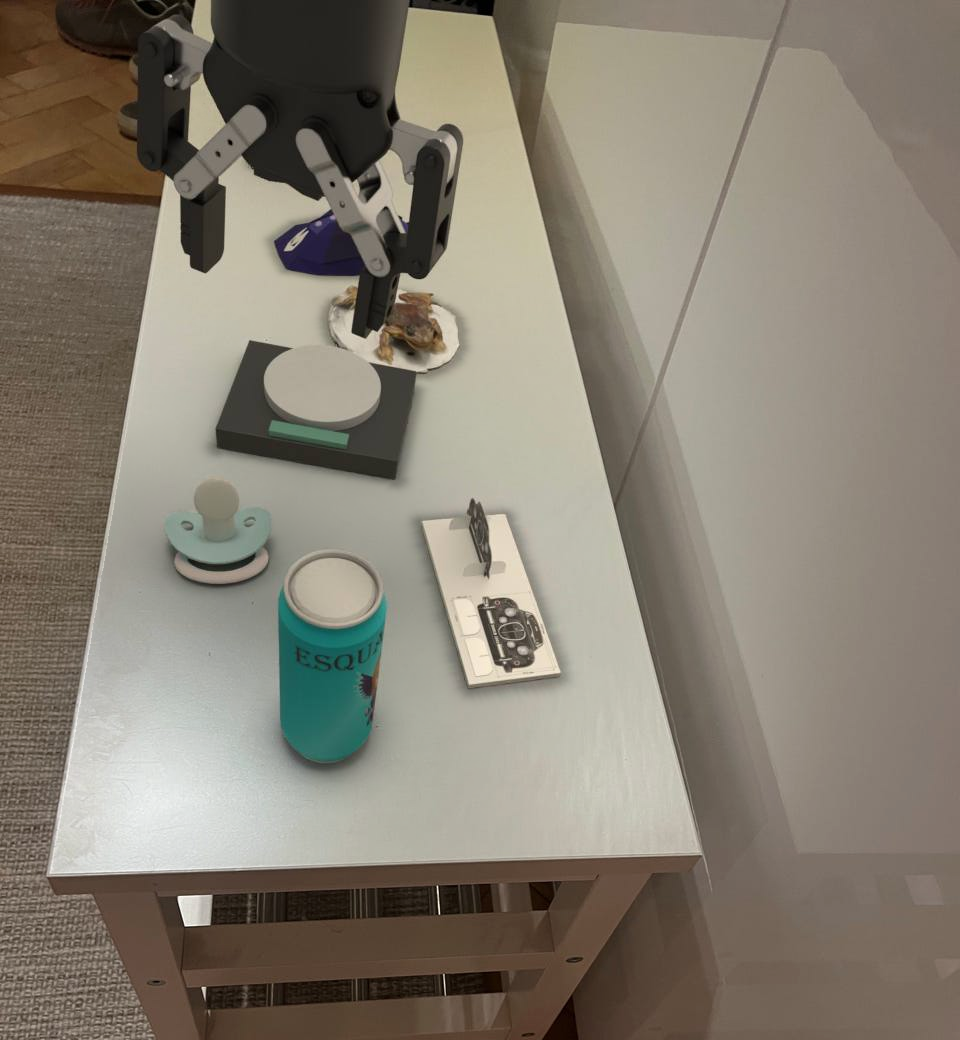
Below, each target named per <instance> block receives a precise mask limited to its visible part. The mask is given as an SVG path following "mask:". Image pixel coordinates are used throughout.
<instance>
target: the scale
mask: <svg viewBox="0 0 960 1040" xmlns="http://www.w3.org/2000/svg"><path fill="white" fill-rule="evenodd" d="M417 374H418V373H417V372H416V371H413V370H407V369H402V368H397V367H391V366H386V365H381V364H375V363H370V362H367V361H366V360H365V359H363V358H362V357H360V356H359V355H357V354H355V353H353V352H350V351H348V350H345V349H342V348H340V347H339V346H333V345H325V344H309V345H302V346H298V347H289V346H283V345H278V344H274V343H268V342H262V341H256V340H252V339H251V340H248V342H247V346H246V348H245V351H244V353H243V355H242V357H241V361H240V363H239V366H238V369H237V371H236V374H235V377H234V380H233V382H232V384H231V387H230V390H229V392H228V395H227V397H226V401H225V403H224V405H223V408H222V410H221V413H220V416H219V418H218V421H217V424H216V426H215V437H216V438H215V440H216V448H218V449H223V450H224V449H225V450H229V451H233V452H234V451H235V452H238V453H239V452H240V453H244V454H250V455H257V456H262V457H268V458H274V459H280V460H285V461H291V462H295V463H302V464H307V465H312V466H318V467H324V468H330V469H336V470H341V471H347V472H352V473H356V474H363V475H368V476H373V477H380V478H385V479H390V480H396V479H397V475H398V470H399V469H398V468H399V465H400V460H401V456H402V450H403V445H404V440H405V436H406V433H407V432H406V431H407V427H408V423H409V418H410V417H409V416H410V412H411V407H412V404H413V398H414V394H415V390H416V389H415V388H416V380H417Z"/></svg>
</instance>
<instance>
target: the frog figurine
mask: <svg viewBox="0 0 960 1040" xmlns="http://www.w3.org/2000/svg"><path fill="white" fill-rule="evenodd" d="M357 289H358V286H356V285H350V286H348V287H347V289H346V290H345V291H344V292H341V293H339V294H338V295H335V296H333V298H332V300H331V305H330V309H329V311H328V315H327V325H328V330H329V334H330V337H331V339H332V340H333V342H335V343H336V344H337V345H338V348H342V349H345V350H348V351H350V352H353V353H355V354H357V355H359V356H360V357H362V358H363V359H365V360H366V361H367V362H370V363H375V364H381V365H386V366H391V367H397V368H402V369H407V370H413V371H416V372H417V373H416V374H418V373H422V374H427V373H428V372H429V370H430V369H435V368H438V367H441V366H442V365H444V364H446V363H448V362H450V360H452V358H453V357H454V356H455V355H456V354H455V353H456V352H457V350H458V349H459V347H460V346H461V344H460V341H459V338H458V337H459V336H458V334H459V328H458V327H457V320H456V319H457V317H456V315H454V314H453V313H452V312H451V311H449V310H448V309H447V308H445V307H443V306H442V304H440V303H439V302H437V301H435V300H434V299H432V298H431V297H433V296H434V295H435V294H434V293H433V292H432V293H430V292H429V293H427V292H418V291H417V292H415V291H414V292H408V291H406V290H402V289H400V288H398V290H397V293H396V294H397V295H396V300H395V306H394V311H393V312H392V313H391V315H390V316H389V317H388V319H387V320H386V321H385V323H384V324H383V325H382V327H381V328H380V329H379V331H378V332H376V331H374V330H372V331H371V333H370V334H369V335H368V337H367V338H366V339H364V338H362V337H359V336H357V335H354V334H352V333H351V329H352V323H353V316H354V309H355V303H356V296H357ZM428 369H429V370H428Z"/></svg>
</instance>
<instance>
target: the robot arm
mask: <svg viewBox="0 0 960 1040" xmlns="http://www.w3.org/2000/svg"><path fill="white" fill-rule="evenodd" d="M410 2H411V0H210V27H211V30H212V34H213V40H212V42H211V41H209V40H207V39H205V38H202V37H201V36H198V35H196V34H194V29H193V27H192V24H191V23H190V21H189V20H188V19H187V18H186V17H185V16H183V15H180V14H177V13H176V14H173V15H171V16H169V17H168V18H166V19H162V20H161V21H159V22H158V23H156V24H155V25H152V26H151V27H150V28H149V29H148V30H146V31H144V32H143V33H142V34H141V35H140V36H139V38H138V39H137V40H138V41H137V94H136V95H137V96H136V97H137V105H136V107H137V108H136V110H137V111H136V157H137V160H138V162H139V163H140V165H141V166H142V167H143V168H144V169H145V170H147V171H149V172H158V171H159V172H161V173H162V174H163V175H165V176H166V177H168V178H169V179H170V180H171V181H172V182H173V186H174V189H175V190H176V192H177V193H178V194H179V209H180V210H179V213H180V216H179V217H180V218H179V219H180V220H179V221H180V224H179V225H180V229H179V230H180V245H181V248H182V250H183V253H184V254H185V255H187V256H189V267H190V268H191V269H193V270H195V271H197V272H200V273H203V274H208V272H210V271H211V270H212V269H213V268H214V267H215V266H216V265H217V264H218V263H219V262H220V261H221V260H222V258H223V255H224V252H225V239H226V238H225V236H226V235H225V234H226V231H225V229H226V200H227V199H226V198H227V186H226V185H223V184H221V183H219V182H220V181H219V179H220V177H221V176H222V175H223V174H224V173H225V172H226V171H227V170H228V169H229V168H230V167H231V166H232V165H233V164H235V162H237V161H238V160H239V159H240V158H241V157H242V158H243V159H244V161H245V162H246V163H247V164H248V165H249V166H250V167H251V168H252V169H253V175H254V176H255V177H258V178H261V179H263V180H265V181H268V182H272V183H273V182H274V183H280V184H286V185H288V186H289V187H290V188H292V189H294V190H295V191H296V192H297V193H299V194H300V195H302V196H305V197H307V198H308V199H311V200H314V201H317V202H320V200H321V199H322V198H325V199H326V201H327V203H328V205H329V208H330V209H331V210H332V212H333V214H334V216H335V218H336V220H337V222H338V224H339V226H340V228H341V229H342V230H343V231H344V232H348V233H349V234H350V235H351V236H352V238H353V241H354V243H355V245H356V247H357V249H358V251H359V253H360V255H361V257H362V259H363V261H364V263H365V265H364V267H363V268H362V269H361V270H360V275H358V283H357V287H358V289H357V296H356V303H355V309H354V316H353V323H352V329H351V333H352V334H354V335H357V336H359V337H362V338H364V339H366V338H367V337H368V335H369V334H370V333H371V331H372V330H374V331H376V332H378V331H379V329H380V328H381V327H382V325H383V324H384V323H385V321H386V320H387V319H388V317H389V316H390V315H391V313H392V312H393V311H394V306H395V300H396V295H397V294H396V293H397V290H398V289H399V284H400V279H401V274H407V275H408V276H409V277H411V278H413V279H414V280H424V279H426V278H427V277H428V275H429V274H430V273H431V272H432V270H433V268H434V267H435V266H436V264H437V263H438V261H439V260H440V259H441V257H443V255H444V253H445V252H446V251H447V249H448V243H449V236H450V230H451V224H452V218H453V212H454V205H455V197H456V192H457V185H458V179H459V178H458V177H459V173H460V165H461V161H462V154H463V148H464V136H463V133H462V131H461V130H460V128H459V127H457V126H456V125H455V124H453V123H444V124H442V125H440V126H439V128H438V129H437V130H436V131H435V130H433V129H429V128H426V127H423V126H422V125H421V126H420V125H418V124H415V123H412V122H409V121H405V120H402V119H401V116H400V112H399V108H398V105H397V99H396V87H397V82H398V76H399V72H400V67H401V60H402V59H401V58H402V53H403V47H404V39H405V33H406V28H407V27H406V26H407V20H408V14H409V9H410ZM201 76H202V77H203V80H204V84H205V86H206V89H207V90H208V92H209V95H210V96H211V98H212V100H213V102H214V105H215V107H216V109H217V110H218V112H219V114H220V116H221V118H222V120H223V123H224V125H223V126H222V127H221V128H220V129H219V130H218V132H216V133H215V134H214V135H213V136H212V137H211V138H210V139H209V140H208V141H207V142H206V143H205V144H204V145H203V146H202V147H201V148H197V147H196V146H194V144H193V143H191V142H189V131H190V130H189V128H190V111H191V96H192V95H191V94H192V93H191V92H192V86H193V85H194V84H196V83H197V82H198V81H199V80H200V78H201ZM389 151H392V152H393V153H395V154H396V155H397V156H398V158H399V160H400V162H401V166H402V167H401V168H402V174H403V179H404V182H405V183H406V184H407V185H409V186H412V193H411V201H410V210H409V217H408V222H409V225H408V233H406V232H405V230H404V228H403V225H402V223H401V221H400V219H399V217H398V215H399V214H398V212H397V209H396V207H395V205H394V202H393V199H394V191H393V187H392V185H391V182H390V180H389V178H388V176H387V174H386V171H385V169H384V167H383V164H382V162H381V159H382V158H383V157H384V156H386V155H387V153H388V152H389ZM355 181H357V182H358V188H359V189H358V190H359V191H358V193H357V190H356V189H355V186H354V184H353V183H354V182H355Z"/></svg>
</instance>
